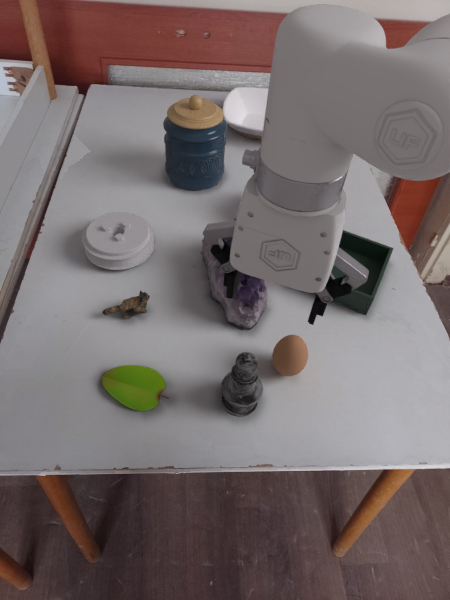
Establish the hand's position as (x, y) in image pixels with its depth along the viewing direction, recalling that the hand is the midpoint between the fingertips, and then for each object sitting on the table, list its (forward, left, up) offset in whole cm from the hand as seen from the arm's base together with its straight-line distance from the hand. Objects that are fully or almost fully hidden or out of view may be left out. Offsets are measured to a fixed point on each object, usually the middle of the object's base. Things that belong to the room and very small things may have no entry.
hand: (272, 302), depth 52 cm
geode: (+11, -17, -20) cm, 28 cm away
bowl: (+29, -69, -20) cm, 77 cm away
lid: (+34, -14, -20) cm, 42 cm away
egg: (-3, -5, -20) cm, 20 cm away
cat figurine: (+24, -2, -20) cm, 31 cm away
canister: (+34, -42, -20) cm, 57 cm away
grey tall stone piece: (+1, +3, -20) cm, 20 cm away
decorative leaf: (+15, +9, -19) cm, 26 cm away
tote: (-4, -29, -19) cm, 35 cm away
